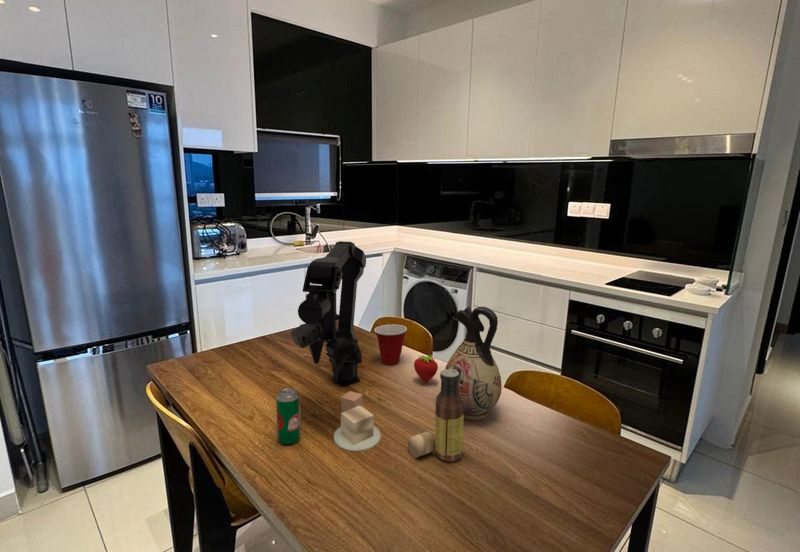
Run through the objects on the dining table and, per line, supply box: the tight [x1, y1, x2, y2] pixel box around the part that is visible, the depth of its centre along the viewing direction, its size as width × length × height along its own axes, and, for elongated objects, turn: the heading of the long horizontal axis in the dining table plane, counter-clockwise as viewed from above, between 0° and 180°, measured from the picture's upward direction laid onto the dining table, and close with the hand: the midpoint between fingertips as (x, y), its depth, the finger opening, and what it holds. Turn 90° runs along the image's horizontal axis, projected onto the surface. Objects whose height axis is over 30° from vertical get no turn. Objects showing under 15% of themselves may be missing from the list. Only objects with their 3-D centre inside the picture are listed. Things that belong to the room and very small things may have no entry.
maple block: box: [340, 406, 375, 445], centre depth 100 cm, size 6×6×6 cm
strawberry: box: [413, 354, 439, 384], centre depth 128 cm, size 6×8×10 cm
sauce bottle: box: [434, 368, 465, 463], centre depth 93 cm, size 6×6×20 cm
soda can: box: [275, 387, 301, 446], centre depth 98 cm, size 5×5×12 cm
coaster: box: [333, 424, 381, 452], centre depth 101 cm, size 11×11×1 cm
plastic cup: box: [374, 323, 408, 366], centre depth 141 cm, size 11×11×12 cm
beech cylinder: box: [407, 431, 436, 459], centre depth 95 cm, size 4×4×4 cm
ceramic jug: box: [444, 306, 503, 420], centre depth 109 cm, size 17×15×30 cm
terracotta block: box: [340, 390, 363, 412], centre depth 113 cm, size 4×4×4 cm
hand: (325, 369), depth 109 cm, fingers open, 9 cm apart
